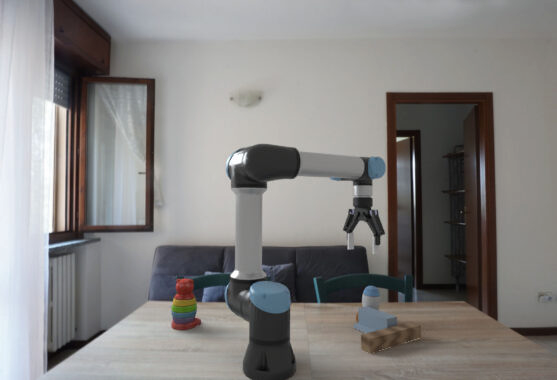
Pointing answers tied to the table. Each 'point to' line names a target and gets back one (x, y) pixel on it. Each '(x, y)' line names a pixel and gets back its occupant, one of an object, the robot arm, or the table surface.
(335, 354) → the table surface
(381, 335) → the walnut bar
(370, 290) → the toy rocket
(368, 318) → the slate ridge
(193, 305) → the stacking bear
